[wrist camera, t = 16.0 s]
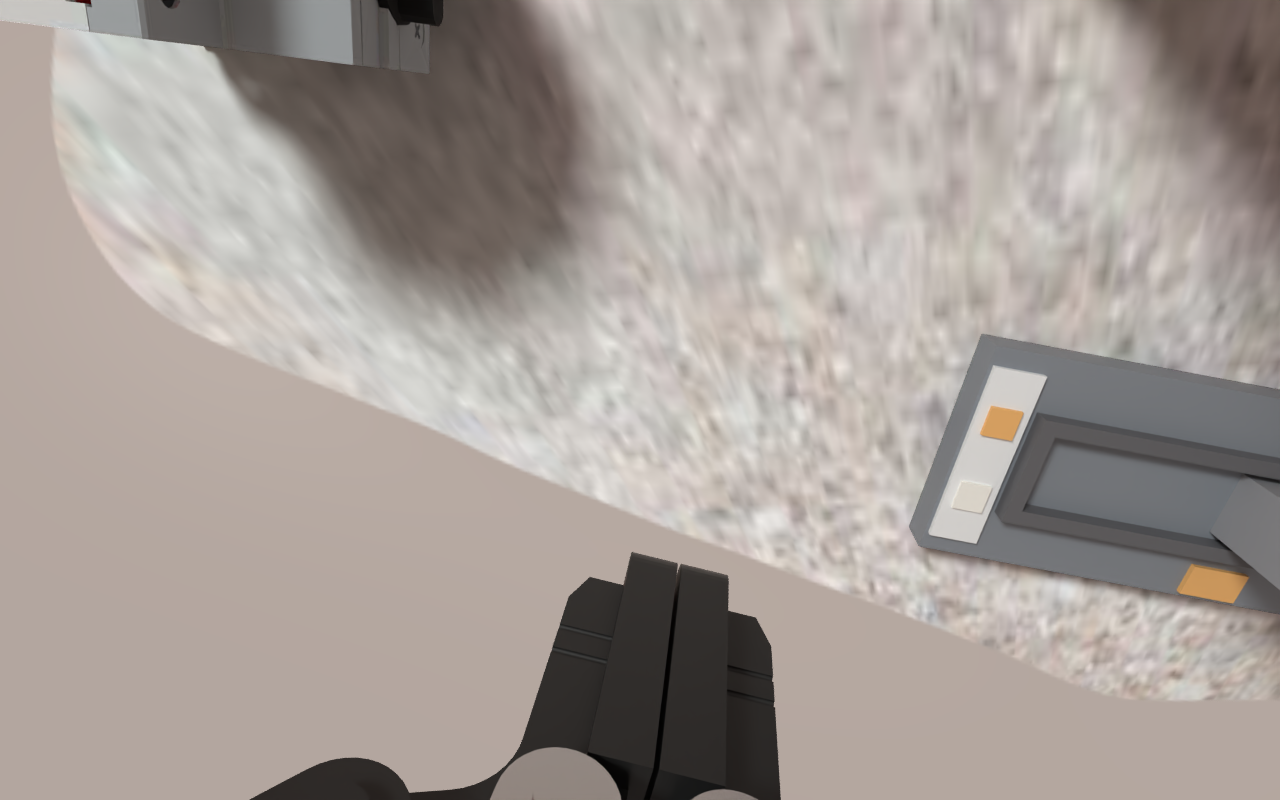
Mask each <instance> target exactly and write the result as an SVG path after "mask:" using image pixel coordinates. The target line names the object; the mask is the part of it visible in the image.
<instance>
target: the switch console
mask: <svg viewBox="0 0 1280 800" xmlns="http://www.w3.org/2000/svg"><path fill="white" fill-rule="evenodd" d="M1243 474H1248V475H1253V476H1258V477H1264V478H1269V479H1274V480H1280V390H1278V389H1273V388H1268V387H1262V386H1257V385H1252V384H1246V383H1241V382H1236V381H1230V380H1225V379H1220V378H1214V377H1209V376H1204V375H1198V374H1193V373H1188V372H1182V371H1177V370H1172V369H1166V368H1161V367H1156V366H1150V365H1145V364H1140V363H1134V362H1129V361H1124V360H1118V359H1113V358H1108V357H1102V356H1097V355H1092V354H1086V353H1081V352H1076V351H1070V350H1065V349H1060V348H1054V347H1049V346H1044V345H1038V344H1033V343H1028V342H1022V341H1017V340H1012V339H1006V338H1001V337H996V336H990V335H985V334H982V335H981V337H980V340H979V343H978V345H977V348H976V351H975V353H974V356H973V359H972V361H971V364H970V367H969V369H968V372H967V375H966V377H965V380H964V383H963V385H962V388H961V390H960V393H959V396H958V398H957V401H956V404H955V406H954V409H953V412H952V414H951V417H950V420H949V422H948V425H947V428H946V430H945V433H944V436H943V438H942V441H941V443H940V446H939V449H938V451H937V454H936V457H935V459H934V462H933V465H932V467H931V470H930V473H929V475H928V478H927V481H926V483H925V486H924V489H923V491H922V494H921V496H920V499H919V502H918V504H917V507H916V510H915V512H914V515H913V518H912V520H911V523H910V526H909V528H910V530H911V532H912V534H913V536H914V538H915V540H916V542H917V544H918V546H920V547H925V548H931V549H936V550H941V551H947V552H952V553H957V554H962V555H968V556H973V557H978V558H984V559H989V560H994V561H1000V562H1005V563H1010V564H1015V565H1021V566H1026V567H1031V568H1037V569H1042V570H1047V571H1053V572H1058V573H1063V574H1068V575H1074V576H1079V577H1084V578H1090V579H1095V580H1100V581H1106V582H1111V583H1116V584H1121V585H1127V586H1132V587H1137V588H1143V589H1148V590H1153V591H1158V592H1164V593H1169V594H1174V595H1180V596H1185V597H1190V598H1196V599H1201V600H1206V601H1211V602H1217V603H1222V604H1227V605H1233V606H1238V607H1243V608H1249V609H1254V610H1259V611H1264V612H1270V613H1275V614H1280V590H1279V589H1278V588H1277V587H1275V586H1274V585H1273V584H1272V583H1271V582H1269V581H1268V580H1267V579H1266V578H1265V577H1263V576H1262V575H1261V574H1260V573H1259V572H1257V571H1256V570H1255V569H1254V568H1253V567H1251V566H1250V565H1249V564H1248V563H1247V562H1245V561H1244V560H1243V559H1242V558H1241V557H1239V556H1238V555H1237V554H1236V553H1235V552H1233V551H1232V550H1231V549H1230V548H1229V547H1227V546H1226V545H1225V544H1224V543H1223V542H1221V541H1220V540H1219V539H1218V538H1217V537H1215V536H1214V535H1213V534H1212V533H1211V532H1210V530H1211V529H1212V527H1213V525H1214V524H1215V522H1216V520H1217V518H1218V517H1219V515H1220V513H1221V511H1222V510H1223V508H1224V506H1225V504H1226V503H1227V501H1228V499H1229V497H1230V496H1231V494H1232V492H1233V490H1234V489H1235V487H1236V485H1237V484H1238V482H1239V480H1240V478H1241V477H1242V475H1243Z"/></svg>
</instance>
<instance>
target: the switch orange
mask: <svg viewBox="0 0 1280 800" xmlns="http://www.w3.org/2000/svg"><path fill="white" fill-rule="evenodd" d="M1210 532H1211V533H1212V534H1213V535H1214V536H1215V537H1217V538H1218V539H1219V540H1220V541H1221V542H1223V543H1224V544H1225V545H1226V546H1227V547H1229V548H1230V549H1231V550H1232V551H1233V552H1235V553H1236V554H1237V555H1238V556H1239V557H1241V558H1242V559H1243V560H1244V561H1245V562H1247V563H1248V564H1249V565H1250V566H1251V567H1253V568H1254V569H1255V570H1256V571H1257V572H1259V573H1260V574H1261V575H1262V576H1263V577H1265V578H1266V579H1267V580H1268V581H1269V582H1271V583H1272V584H1273V585H1274V586H1275V587H1277V588H1278V589H1279V590H1280V480H1274V479H1269V478H1264V477H1258V476H1253V475H1248V474H1243V475H1242V477H1241V478H1240V480H1239V482H1238V484H1237V485H1236V487H1235V489H1234V490H1233V492H1232V494H1231V496H1230V497H1229V499H1228V501H1227V503H1226V504H1225V506H1224V508H1223V510H1222V511H1221V513H1220V515H1219V517H1218V518H1217V520H1216V522H1215V524H1214V525H1213V527H1212V529H1211V530H1210Z"/></svg>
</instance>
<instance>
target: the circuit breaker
mask: <svg viewBox="0 0 1280 800" xmlns="http://www.w3.org/2000/svg"><path fill="white" fill-rule="evenodd" d="M442 17H443V0H0V20H1V21H9V22H17V23H25V24H32V25H40V26H48V27H56V28H64V29H71V30H79V31H87V32H95V33H103V34H110V35H118V36H126V37H134V38H142V39H150V40H158V41H166V42H175V43H183V44H191V45H200V46H208V47H216V48H224V49H232V50H240V51H248V52H256V53H263V54H271V55H279V56H287V57H295V58H303V59H310V60H318V61H326V62H334V63H342V64H349V65H357V66H366V67H374V68H383V69H391V70H400V71H408V72H417V73H425V74H430V25H434V26H440V24H441V22H442Z"/></svg>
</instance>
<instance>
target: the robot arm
mask: <svg viewBox="0 0 1280 800" xmlns="http://www.w3.org/2000/svg"><path fill="white" fill-rule="evenodd" d="M677 566H678V564H677V563H674V562H670V561H666V560H662V559H658V558H654V557H650V556H646V555H642V554H638V553H633V552H632V553H631V557H630V561H629V565H628V569H627V573H626V577H625V581H624V585H620V584H616V583H612V582H608V581H604V580H600V579H596V578H592V577H590V578H588V579H587V580H586V581H585V582H584V583H583V584H582V585H581V586H580V587H579V588H578V589H577V590H576V591H574V592H573V593H572V594H571V595H570V596H569V598H568V601H567V604H566V607H565V610H564V613H563V616H562V619H561V623H560V627H559V629H558V632H557V635H556V638H555V641H554V644H553V648H552V651H551V653H550V657H549V660H548V663H547V666H546V669H545V672H544V675H543V678H542V681H541V684H540V688H539V691H538V693H537V697H536V700H535V703H534V706H533V709H532V712H531V715H530V718H529V721H528V724H527V727H526V731H525V734H524V737H523V740H522V742H521V744H520V747H519V749H518V750H517V752H516V753H515V755H514V757H513V758H512V759H511V760H510V761H509V762H508V764H507V765H506V766H505V767H504V768H502V769H501V770H500V771H499V772H498V773H496V774H495V775H493V776H491V777H490V778H488V779H486V780H484V781H482V782H480V783H477V784H475V785H472V786H468V787H465V788H460V789H453V790H443V791H428V792H415V793H409V792H408V790H407V788H406V786H405V784H404V782H403V781H402V780H401V779H400V778H399V776H398V775H397V774H396V773H395V772H394V771H392V770H391V769H390V768H388V767H387V766H385V765H383V764H381V763H379V762H375V761H372V760H369V759H362V758H342V759H335V760H330V761H327V762H324V763H320V764H318V765H316V766H313V767H311V768H309V769H307V770H305V771H303V772H301V773H300V774H297V775H295V776H294V777H292V778H290V779H288V780H286V781H284V782H282V783H280V784H278V785H276V786H274V787H273V788H271V789H269V790H267V791H265V792H263V793H261V794H259V795H257V796H255V797H254V798H252V799H250V800H781V797H780V782H779V765H778V750H777V734H776V717H775V707H774V685H773V682H772V678H773V669H772V653H771V645H770V643H769V642H768V640H767V638H766V636H765V634H764V632H763V630H762V628H761V627H760V625H759V623H758V621H757V619H756V618H755V617H751V616H747V615H743V614H739V613H735V612H731V611H728V584H729V581H728V576H727V575H724V574H720V573H716V572H712V571H708V570H704V569H700V568H696V567H692V566H688V565H683V564H681V565H680V567H679V570H678V573H677Z"/></svg>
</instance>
